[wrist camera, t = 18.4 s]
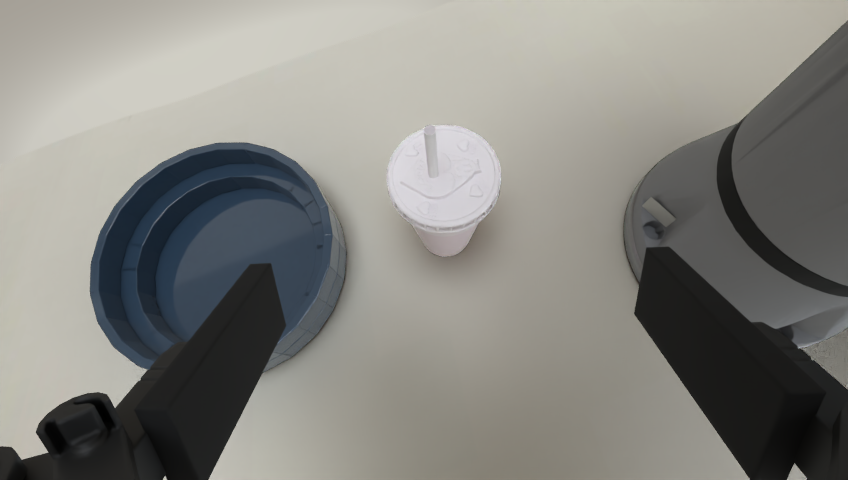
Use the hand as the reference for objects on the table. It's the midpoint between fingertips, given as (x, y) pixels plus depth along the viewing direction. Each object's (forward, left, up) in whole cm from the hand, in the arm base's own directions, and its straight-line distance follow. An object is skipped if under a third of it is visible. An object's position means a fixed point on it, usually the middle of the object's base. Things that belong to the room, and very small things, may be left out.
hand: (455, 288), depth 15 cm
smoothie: (+6, -5, -16) cm, 18 cm away
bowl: (+15, +8, -16) cm, 23 cm away
